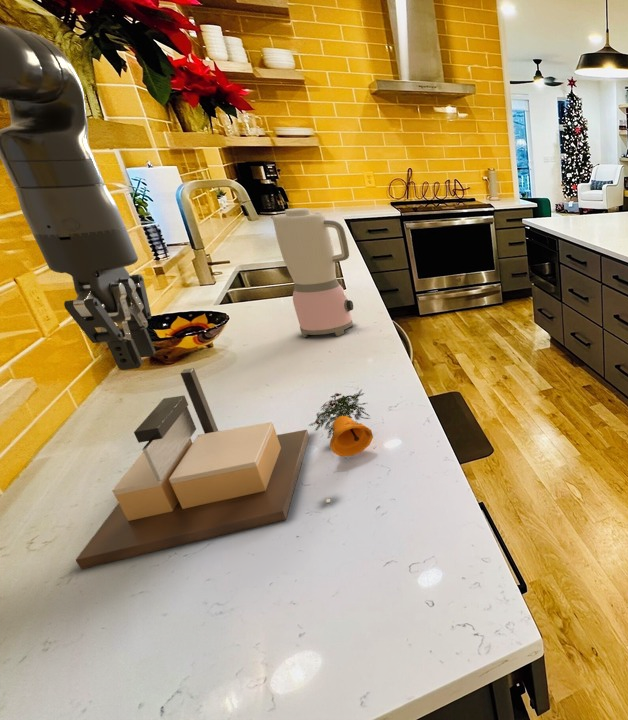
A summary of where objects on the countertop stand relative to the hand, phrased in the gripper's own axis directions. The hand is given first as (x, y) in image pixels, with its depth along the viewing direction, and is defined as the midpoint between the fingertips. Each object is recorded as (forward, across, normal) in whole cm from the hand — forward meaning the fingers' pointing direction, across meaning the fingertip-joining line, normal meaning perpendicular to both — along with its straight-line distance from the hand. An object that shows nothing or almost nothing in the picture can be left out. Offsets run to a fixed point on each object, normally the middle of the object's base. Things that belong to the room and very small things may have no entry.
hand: (138, 361), depth 65 cm
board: (+21, 0, +2) cm, 21 cm away
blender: (+21, -70, +12) cm, 74 cm away
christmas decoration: (+21, 0, +20) cm, 29 cm away
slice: (+20, 0, -3) cm, 20 cm away
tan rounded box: (+20, 0, +5) cm, 20 cm away
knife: (+14, 0, 0) cm, 14 cm away
